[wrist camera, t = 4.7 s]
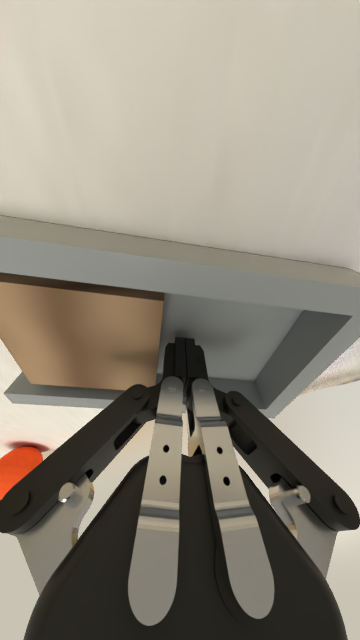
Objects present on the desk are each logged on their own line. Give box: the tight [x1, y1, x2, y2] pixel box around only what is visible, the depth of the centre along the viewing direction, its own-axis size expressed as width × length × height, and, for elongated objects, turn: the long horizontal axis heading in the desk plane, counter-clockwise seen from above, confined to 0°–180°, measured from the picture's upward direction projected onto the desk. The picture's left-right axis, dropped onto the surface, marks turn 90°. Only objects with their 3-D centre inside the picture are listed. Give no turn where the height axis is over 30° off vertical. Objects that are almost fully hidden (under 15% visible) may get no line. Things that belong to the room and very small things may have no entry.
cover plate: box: [0, 272, 165, 390], centre depth 12 cm, size 10×9×2 cm
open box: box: [0, 216, 360, 418], centre depth 13 cm, size 24×14×4 cm, turn 82°
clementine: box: [0, 446, 43, 501], centre depth 28 cm, size 8×7×7 cm
